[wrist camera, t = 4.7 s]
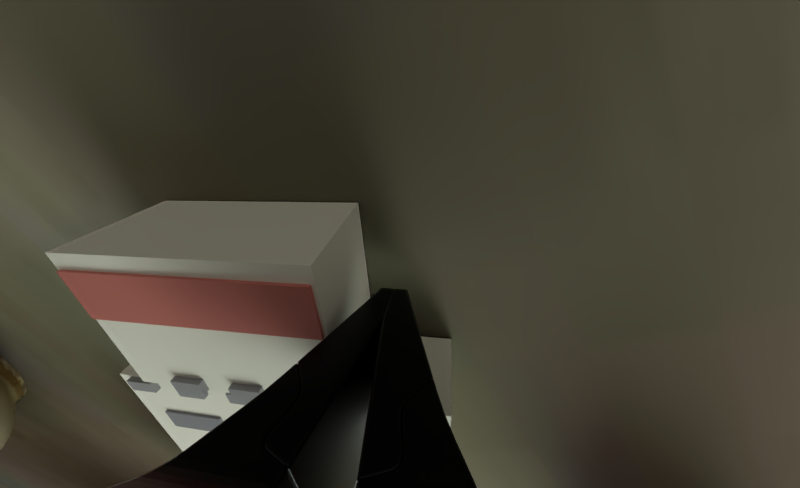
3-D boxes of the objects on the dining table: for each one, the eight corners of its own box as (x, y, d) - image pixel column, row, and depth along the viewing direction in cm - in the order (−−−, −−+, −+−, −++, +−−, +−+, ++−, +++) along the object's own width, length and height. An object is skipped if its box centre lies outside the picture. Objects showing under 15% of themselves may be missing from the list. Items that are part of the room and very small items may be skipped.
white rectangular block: (358, 202, 9) (306, 271, 6) (373, 321, 11) (343, 414, 8) (165, 200, 10) (34, 257, 7) (217, 308, 13) (137, 386, 9)
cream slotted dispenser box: (452, 339, 11) (451, 423, 9) (446, 446, 15) (444, 528, 12) (184, 316, 13) (113, 378, 10) (240, 417, 17) (200, 481, 14)
